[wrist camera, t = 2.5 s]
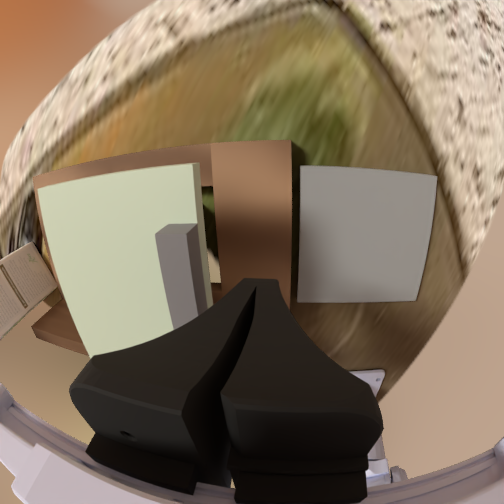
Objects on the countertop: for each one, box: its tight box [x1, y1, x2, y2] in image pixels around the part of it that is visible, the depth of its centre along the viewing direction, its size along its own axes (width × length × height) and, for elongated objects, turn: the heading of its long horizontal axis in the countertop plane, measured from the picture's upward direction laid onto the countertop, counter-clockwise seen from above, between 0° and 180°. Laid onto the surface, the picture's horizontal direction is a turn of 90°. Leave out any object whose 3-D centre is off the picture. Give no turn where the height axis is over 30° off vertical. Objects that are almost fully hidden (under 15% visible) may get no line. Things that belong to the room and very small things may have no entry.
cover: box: [37, 163, 213, 358], centre depth 12 cm, size 12×9×2 cm
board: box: [31, 140, 292, 356], centre depth 16 cm, size 13×21×6 cm, turn 92°
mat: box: [297, 165, 437, 303], centre depth 16 cm, size 9×9×1 cm
